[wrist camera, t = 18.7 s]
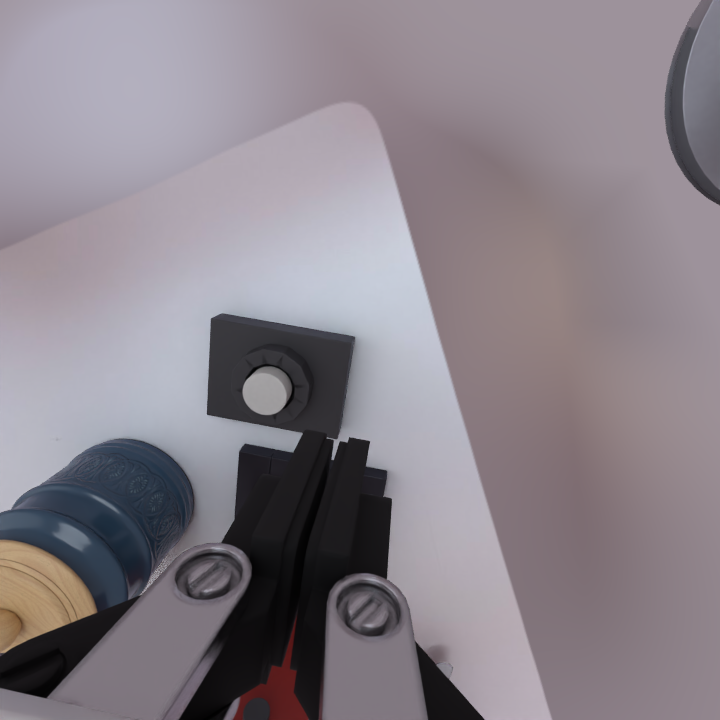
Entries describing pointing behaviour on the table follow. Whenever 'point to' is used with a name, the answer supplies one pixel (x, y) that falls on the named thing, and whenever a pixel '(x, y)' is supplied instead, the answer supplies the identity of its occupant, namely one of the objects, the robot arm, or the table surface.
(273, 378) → the button
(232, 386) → the control block
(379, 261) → the table surface
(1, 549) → the canister
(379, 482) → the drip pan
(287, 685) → the red box with knob
